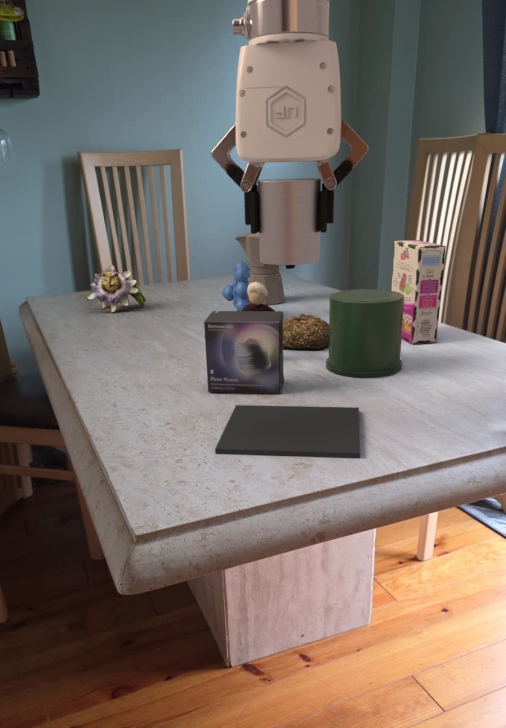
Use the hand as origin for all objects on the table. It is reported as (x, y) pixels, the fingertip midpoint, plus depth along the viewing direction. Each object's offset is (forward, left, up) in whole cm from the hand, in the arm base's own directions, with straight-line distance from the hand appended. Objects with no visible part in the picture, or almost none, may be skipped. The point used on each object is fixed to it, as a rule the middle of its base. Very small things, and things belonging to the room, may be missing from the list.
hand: (289, 230), depth 65 cm
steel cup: (0, 0, -3) cm, 3 cm away
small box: (+8, -16, -23) cm, 29 cm away
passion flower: (+47, -71, -23) cm, 88 cm away
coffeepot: (+12, -79, -23) cm, 83 cm away
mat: (0, 0, -23) cm, 23 cm away
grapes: (+16, -58, -23) cm, 64 cm away
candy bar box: (-18, -46, -23) cm, 55 cm away
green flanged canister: (-9, -27, -23) cm, 37 cm away
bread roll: (+2, -42, -23) cm, 48 cm away
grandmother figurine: (+8, -30, -23) cm, 39 cm away
